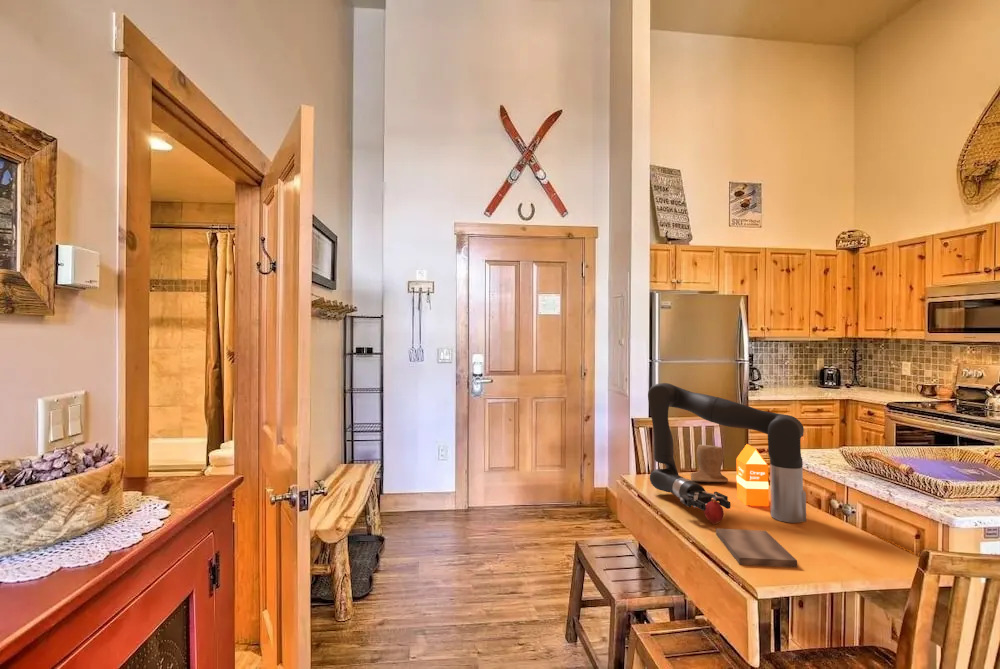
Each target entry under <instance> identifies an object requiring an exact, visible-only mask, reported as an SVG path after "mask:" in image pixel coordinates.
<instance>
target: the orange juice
mask: <svg viewBox="0 0 1000 669" xmlns="http://www.w3.org/2000/svg"><path fill="white" fill-rule="evenodd" d="M735 459H736V463H735V464H736V498H737V499H738V500H739V501H740V502H741V503H742V504H744V505H745V506H746V505H747V506H748V505H750V506H749V507H769V500H770V499H769V489H770V487H769V464H768V463H767V462H766V461H765V459H764V458H763V456H762V455H761V454H760V452H759V450H757V448H756V447H755V446H752V445H749V444H748V443H746V445H744V448H743V449H742V450H741V451H740V453H739V454H738V455H737V457H736V458H735ZM747 506H746V507H747Z"/></svg>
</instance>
